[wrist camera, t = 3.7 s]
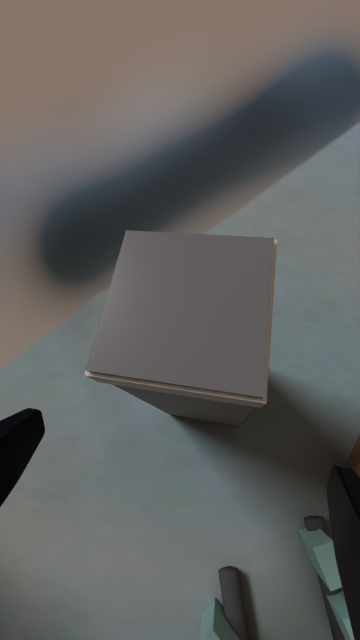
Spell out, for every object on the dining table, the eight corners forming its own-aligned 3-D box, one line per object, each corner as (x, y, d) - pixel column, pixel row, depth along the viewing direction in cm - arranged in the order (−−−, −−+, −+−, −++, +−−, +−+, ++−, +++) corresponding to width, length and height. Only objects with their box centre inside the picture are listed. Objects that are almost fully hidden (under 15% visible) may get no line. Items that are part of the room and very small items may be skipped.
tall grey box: (239, 428, 19) (267, 402, 7) (167, 415, 20) (81, 373, 8) (246, 356, 20) (277, 235, 8) (180, 348, 21) (123, 227, 9)
